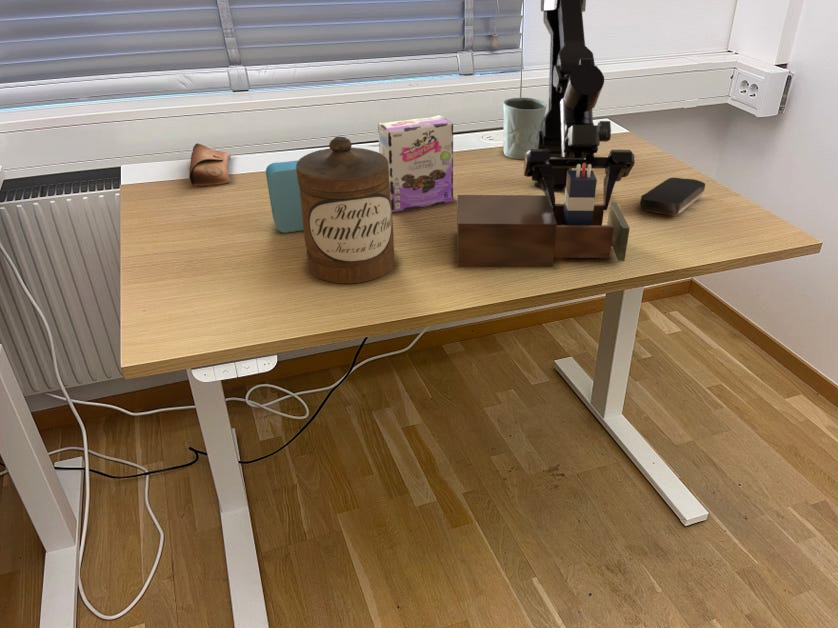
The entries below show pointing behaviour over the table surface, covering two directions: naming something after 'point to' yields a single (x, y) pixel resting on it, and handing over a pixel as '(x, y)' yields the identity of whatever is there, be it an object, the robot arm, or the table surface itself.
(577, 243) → the drawer
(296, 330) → the table surface
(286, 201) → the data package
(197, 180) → the sunglasses case
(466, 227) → the cabinet
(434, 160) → the candy box
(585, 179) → the straw box
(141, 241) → the table surface
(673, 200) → the black sponge
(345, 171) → the wooden container
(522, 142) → the green ceramic pot
